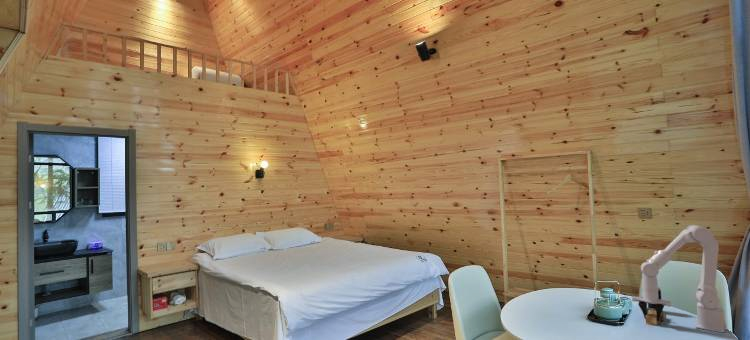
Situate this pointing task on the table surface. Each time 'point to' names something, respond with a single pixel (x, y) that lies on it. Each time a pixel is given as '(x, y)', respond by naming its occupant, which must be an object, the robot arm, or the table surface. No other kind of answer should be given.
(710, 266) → the robot arm
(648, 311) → the dispenser
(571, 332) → the table surface
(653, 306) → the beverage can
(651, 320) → the orange brown rectangular block
